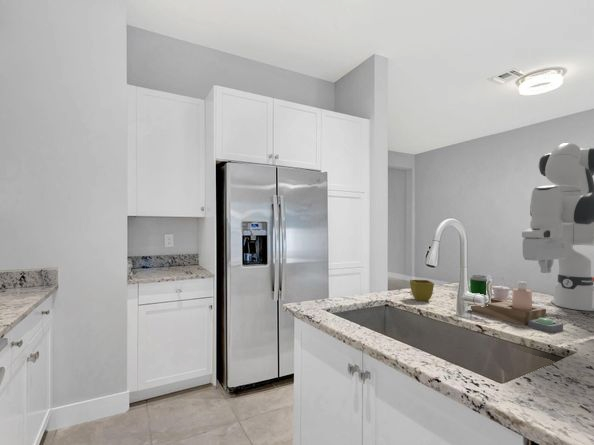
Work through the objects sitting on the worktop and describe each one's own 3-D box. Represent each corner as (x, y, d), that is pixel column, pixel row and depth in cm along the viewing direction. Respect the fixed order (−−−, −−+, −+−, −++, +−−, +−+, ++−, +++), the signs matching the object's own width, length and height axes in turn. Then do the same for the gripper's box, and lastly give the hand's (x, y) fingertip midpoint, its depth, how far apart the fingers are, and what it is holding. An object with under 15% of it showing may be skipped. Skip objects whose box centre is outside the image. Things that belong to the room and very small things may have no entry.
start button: (542, 327, 114) (542, 317, 114) (555, 330, 110) (555, 320, 110) (535, 328, 112) (535, 318, 112) (548, 332, 108) (548, 321, 108)
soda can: (490, 303, 152) (490, 277, 152) (473, 302, 154) (473, 276, 154) (484, 299, 160) (484, 275, 160) (468, 298, 161) (468, 274, 161)
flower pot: (434, 302, 152) (434, 283, 152) (415, 301, 152) (415, 282, 153) (427, 298, 161) (427, 279, 161) (409, 297, 161) (409, 279, 161)
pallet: (488, 309, 140) (488, 296, 140) (545, 323, 120) (546, 308, 120) (468, 312, 134) (468, 299, 134) (524, 327, 114) (524, 312, 114)
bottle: (518, 316, 125) (518, 280, 126) (535, 320, 120) (535, 282, 120) (508, 318, 123) (509, 281, 123) (525, 322, 117) (525, 283, 118)
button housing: (540, 327, 116) (540, 318, 116) (563, 332, 109) (563, 324, 109) (528, 329, 113) (528, 320, 113) (551, 335, 106) (551, 326, 106)
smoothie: (509, 312, 136) (510, 278, 136) (491, 310, 139) (492, 277, 139) (509, 309, 141) (509, 276, 141) (492, 307, 145) (492, 275, 145)
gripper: (552, 232, 119) (552, 269, 119) (518, 232, 110) (518, 273, 110) (573, 232, 113) (573, 272, 113) (539, 232, 104) (538, 275, 104)
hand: (545, 272), depth 111 cm, fingers closed
